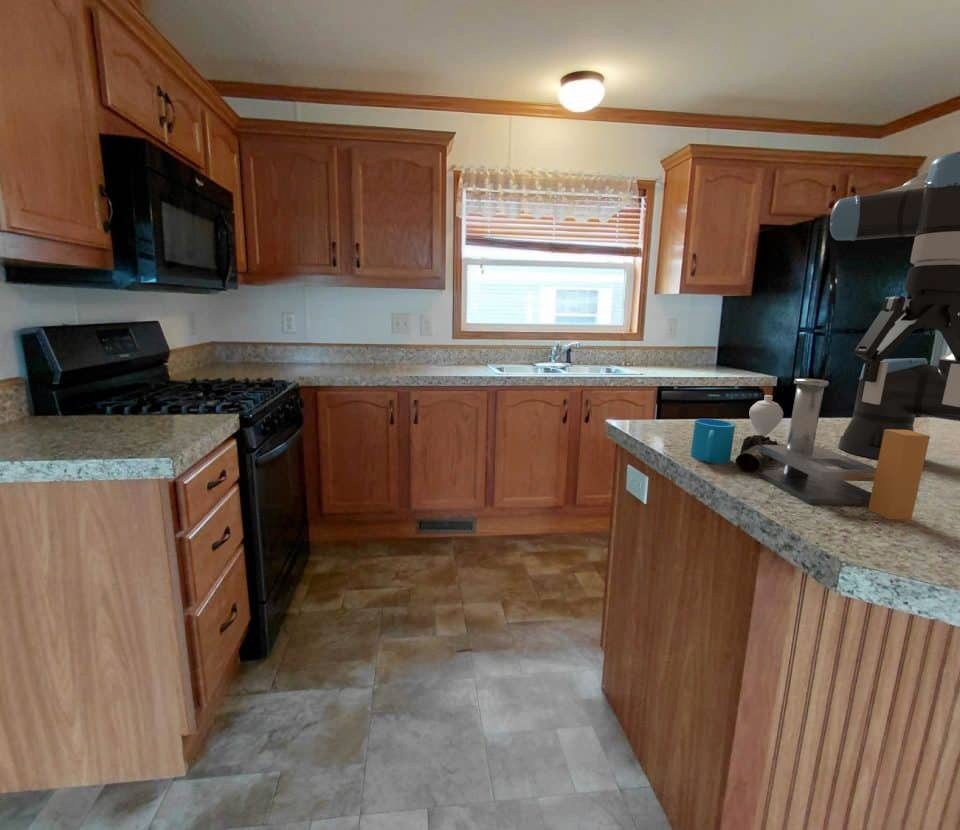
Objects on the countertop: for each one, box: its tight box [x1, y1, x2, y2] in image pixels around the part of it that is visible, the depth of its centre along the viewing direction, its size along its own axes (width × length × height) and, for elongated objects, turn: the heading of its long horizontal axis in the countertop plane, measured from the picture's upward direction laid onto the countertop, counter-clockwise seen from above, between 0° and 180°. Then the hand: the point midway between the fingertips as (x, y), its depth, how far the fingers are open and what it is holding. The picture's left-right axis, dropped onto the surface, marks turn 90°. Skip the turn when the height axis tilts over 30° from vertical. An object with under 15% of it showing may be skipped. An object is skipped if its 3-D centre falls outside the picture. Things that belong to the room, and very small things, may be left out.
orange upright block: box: [867, 429, 931, 520], centre depth 83 cm, size 4×4×14 cm
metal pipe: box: [734, 434, 778, 475], centre depth 111 cm, size 18×7×6 cm, turn 138°
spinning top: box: [748, 394, 784, 437], centre depth 131 cm, size 8×8×12 cm
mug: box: [690, 418, 736, 464], centre depth 112 cm, size 12×8×8 cm
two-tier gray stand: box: [754, 377, 877, 506], centre depth 94 cm, size 14×18×20 cm
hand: (911, 404), depth 80 cm, fingers open, 13 cm apart
